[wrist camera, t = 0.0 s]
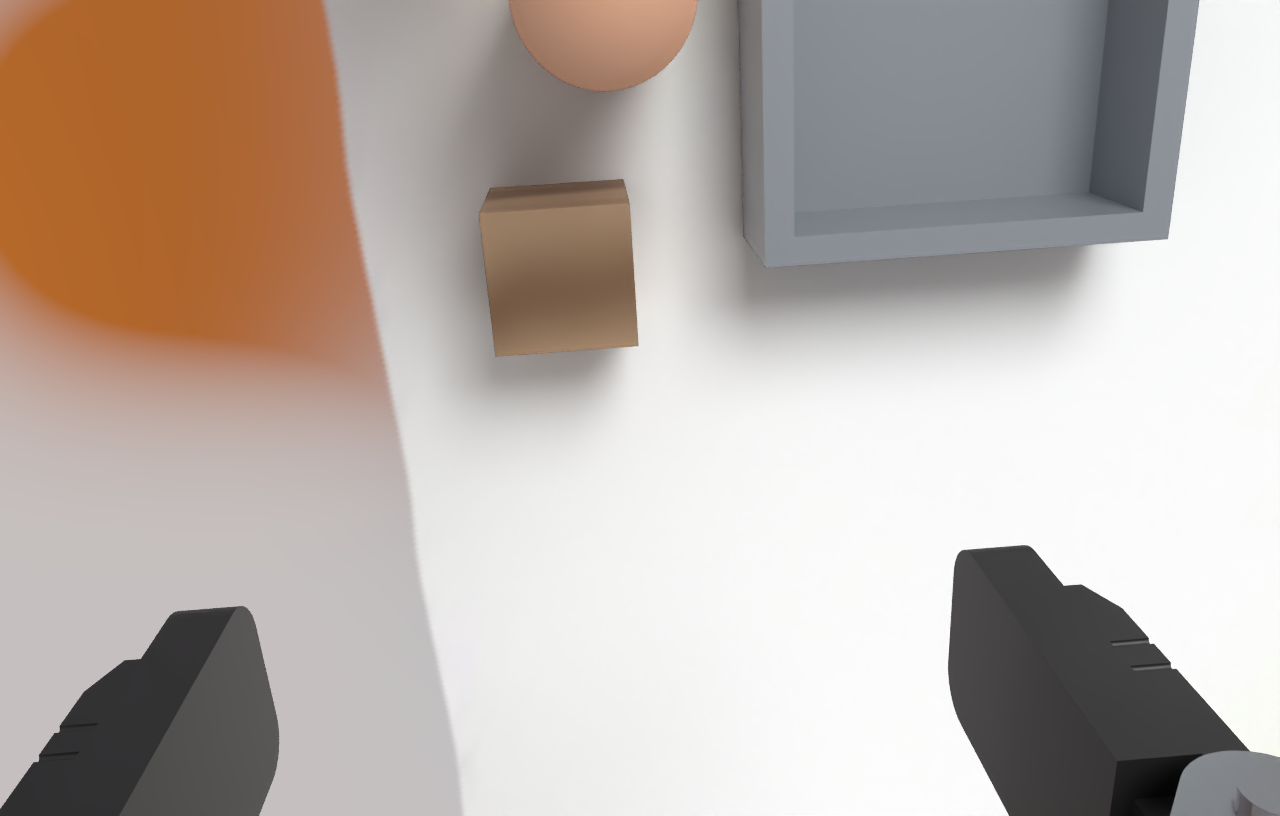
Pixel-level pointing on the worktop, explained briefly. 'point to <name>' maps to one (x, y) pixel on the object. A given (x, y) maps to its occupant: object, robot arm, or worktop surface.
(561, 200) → the walnut cube
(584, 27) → the terracotta capsule
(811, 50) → the grey tote
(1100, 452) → the worktop surface
